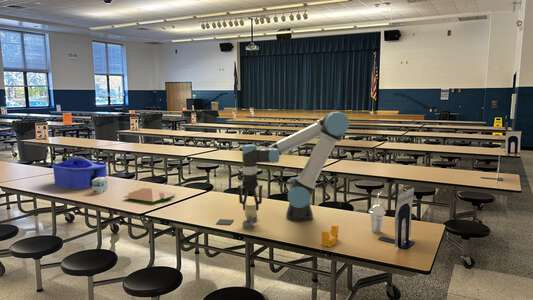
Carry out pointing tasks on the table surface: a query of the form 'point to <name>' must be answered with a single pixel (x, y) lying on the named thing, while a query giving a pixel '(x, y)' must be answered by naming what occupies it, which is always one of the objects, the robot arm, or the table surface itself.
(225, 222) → the rubber mat
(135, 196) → the house
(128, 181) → the table surface
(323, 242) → the pipe clamp
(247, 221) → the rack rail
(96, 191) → the light bulb box
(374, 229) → the cup with straw
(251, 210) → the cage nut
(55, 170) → the caddy
